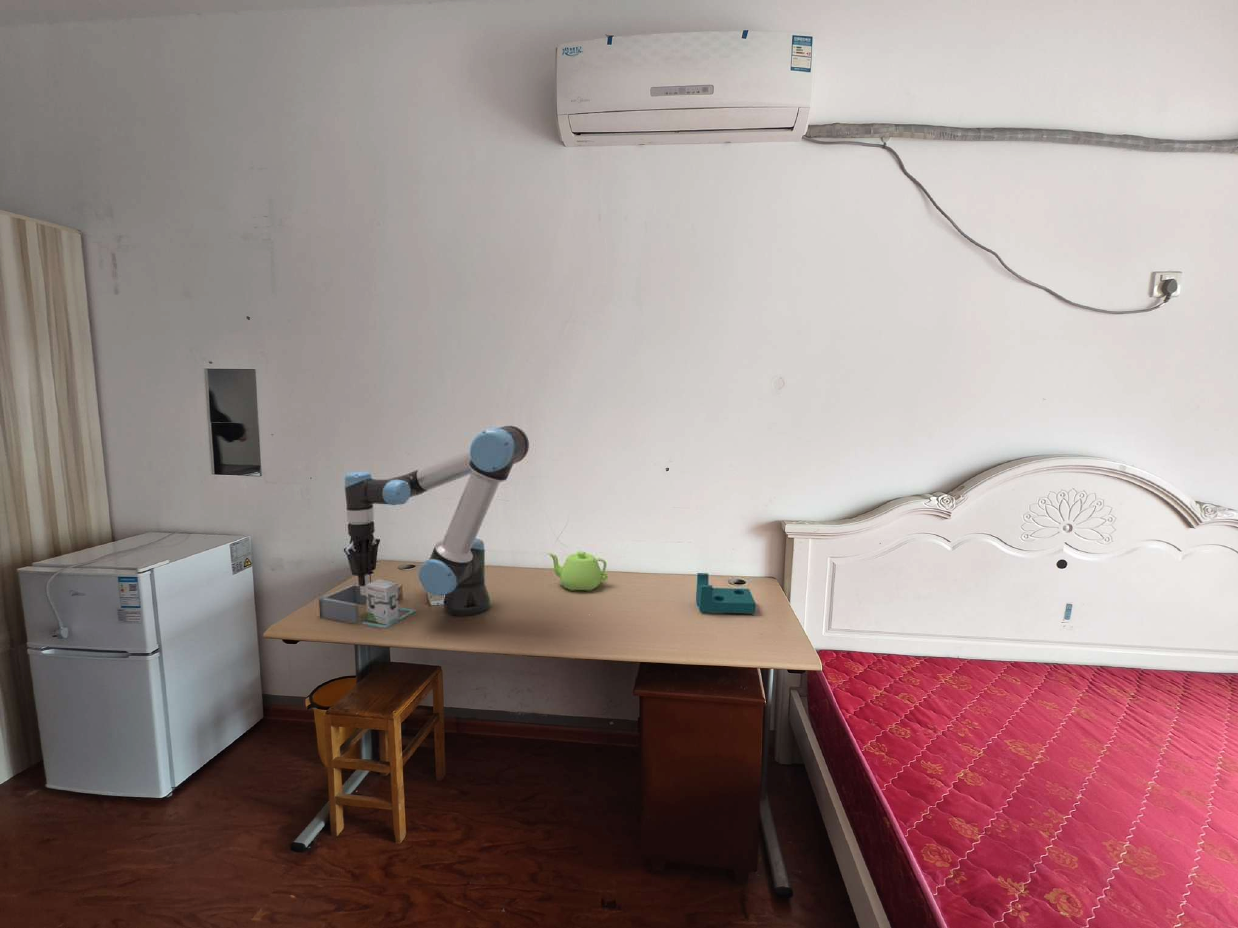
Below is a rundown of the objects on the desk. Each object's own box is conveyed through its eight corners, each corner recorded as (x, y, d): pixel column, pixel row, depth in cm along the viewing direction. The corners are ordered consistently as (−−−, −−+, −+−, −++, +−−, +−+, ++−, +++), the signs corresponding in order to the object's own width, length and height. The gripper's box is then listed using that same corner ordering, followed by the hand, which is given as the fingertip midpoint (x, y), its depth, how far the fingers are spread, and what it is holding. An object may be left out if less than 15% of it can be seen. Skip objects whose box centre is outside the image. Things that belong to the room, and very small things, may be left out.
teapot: (545, 593, 202) (545, 557, 200) (549, 579, 217) (549, 545, 215) (607, 594, 203) (608, 558, 201) (607, 579, 218) (608, 546, 216)
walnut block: (402, 598, 194) (402, 584, 194) (396, 604, 190) (395, 589, 189) (388, 597, 195) (388, 583, 194) (381, 603, 190) (380, 589, 189)
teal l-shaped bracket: (699, 616, 187) (701, 586, 185) (695, 600, 198) (697, 572, 195) (754, 617, 187) (757, 588, 185) (747, 602, 198) (749, 574, 195)
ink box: (365, 620, 176) (364, 583, 175) (378, 614, 181) (376, 578, 179) (387, 625, 173) (386, 587, 172) (399, 619, 178) (398, 582, 176)
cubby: (389, 607, 187) (388, 589, 186) (355, 624, 173) (355, 605, 172) (355, 600, 191) (354, 583, 190) (319, 616, 178) (318, 598, 177)
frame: (415, 611, 184) (415, 610, 184) (384, 628, 171) (384, 627, 171) (394, 607, 186) (394, 606, 186) (362, 624, 173) (362, 622, 173)
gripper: (366, 516, 184) (371, 586, 187) (334, 525, 172) (340, 600, 175) (385, 517, 182) (389, 588, 185) (354, 527, 169) (359, 603, 173)
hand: (365, 594), depth 180 cm, fingers closed
